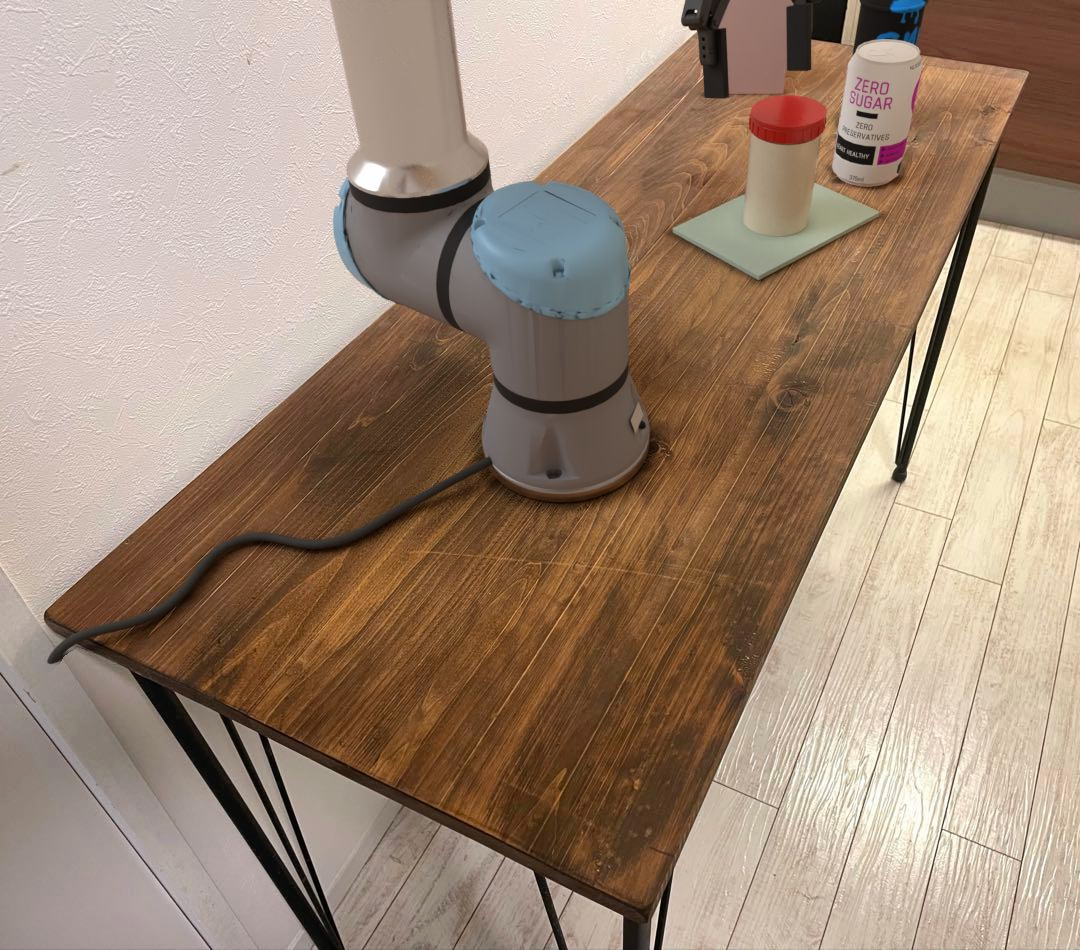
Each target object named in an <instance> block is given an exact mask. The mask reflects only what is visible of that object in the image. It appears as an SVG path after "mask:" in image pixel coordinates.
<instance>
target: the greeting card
mask: <svg viewBox="0 0 1080 950" xmlns="http://www.w3.org/2000/svg"><path fill="white" fill-rule="evenodd" d="M793 5H794V4H793V3H792V1H791V0H730V2H729V4H728V6H727V9H726V11H725V14H724V16H723V18H722V21H721V23H720V26H719V28H726V36H727V60H728V83H729V95H783V94H784V92H785V91H784V90H785V82H786V81H785V80H786V73H787V27H786V7H788V6H793ZM710 16H711V15H710Z"/></svg>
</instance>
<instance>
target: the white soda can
mask: <svg viewBox="0 0 1080 950" xmlns="http://www.w3.org/2000/svg"><path fill="white" fill-rule="evenodd" d="M848 61H849V62H848V63H847V69H846V74H845V75H846V76H845V81H844V89H843V93H842V99H841V100H842V101H841V107H840V113H839V119H838V126H837V130H836V131H837V132H836V137H835V143H834V150H833V158H832V162H831V168H832V172H833V173H834V174H836V177H837V178H838V179H840V180H841V181H842V182H844V183H846V184H848V185H852V186H857V187H864V188H865V187H866V188H871V187H879V186H883V185H885V184H888V183H890V182H891V181H892V180H894V179H895V178H896V177H898V176H899V175H900V172H901V170H902V165H903V161H904V157H905V152H906V147H907V142H908V137H909V134H910V129H911V125H912V124H911V123H912V120H913V115H914V111H915V105H916V101H917V97H918V92H919V87H920V83H921V77H922V73H923V68H924V64H923V61H922V57H921V49H920V48H919V47H918V45H917V46H915V45H914V44H911V43H908V42H905V41H900V40H892V39H881V40H872V41H869V42H865V43H863V44H861V45H859V46H858V48H857V49H856V52H855V54H854V55H853V57H852V56H851V58H850V59H849V60H848Z"/></svg>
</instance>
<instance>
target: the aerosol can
mask: <svg viewBox="0 0 1080 950" xmlns="http://www.w3.org/2000/svg"><path fill="white" fill-rule="evenodd" d="M859 3H860V5H859V12H858V19H857V23H856V31H855V37H854V41H853V49H852V55H851V58H852V57H853V55H854V54H855V52H856V49H857V48H858V46H859V45H861V44H863V43H865V42H869V41H872V40H881V39H892V40H900V41H905V42H908V43H911V44H914V45H915V46H917V47H918V42H919V37H920V32H921V28H922V22H923V18H924V14H925V10H926V9H925V8H926V6H927V4H928V3H929V0H859Z"/></svg>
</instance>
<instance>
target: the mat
mask: <svg viewBox="0 0 1080 950" xmlns="http://www.w3.org/2000/svg"><path fill="white" fill-rule="evenodd" d="M744 200H745V193H743V194H741V195H739V196H737V197H734V198H733V199H730V200H728V201H727V202H725V203H721V204H720V205H718V206H716V207H714V208H712V209H710V210H707V211H706V212H703V213H701V214H699V215H697V216H695V217H693V218H691V219H688V220H687V221H684V222H682V223H680V224H679V225H676V226H674V227H672V233H673V234H675V235H677V236H678V237H680V238H681V239H684V240H686V241H687V242H689V243H691V244H692V245H694V246H696V247H698V248H699V249H702V250H703V251H705V252H706V253H709V254H710V255H712V256H714V257H715V258H718V259H720V260H721V261H723V262H724V263H727V264H729V265H730V266H732V267H734V268H735V269H738V270H739V271H741V272H743V273H745V274H746V275H748V276H750V277H752V278H754V279H755V280H757V281H760V280H762V279H764V278H766V277H768V276H770V275H771V274H774V273H776V272H777V271H779V270H782V269H783V268H785V267H787V266H789V265H791V264H793V263H794V262H796V261H798V260H800V259H802V258H803V257H806V256H807V255H810V254H811V253H814V252H816V251H817V250H818V249H821V248H822V247H824V246H826V245H829V244H830V243H832V242H835V241H836V240H837V239H839V238H841V237H843V236H845V235H846V234H849V233H851V232H853V231H854V230H856V229H858V228H860V227H862V226H864V225H866V224H867V223H869V222H871V221H873V220H875V219H877V218H879V217H880V215H881V211H879V210H877V209H875V208H872V207H870V206H869V205H866V204H864V203H861V202H859V201H857V200H855V199H853V198H850V197H848V196H846V195H844V194H842V193H839V192H837V191H834V190H833V189H830V188H828V187H826V186H823V185H821V184H819V183H817V182H815V183H814V190H813V196H812V203H811V210H810V217H809V223H808V225H807V226H806V228H805V229H803V230H802V231H800V232H798V233H796V234H792V235H788V236H767V235H762V234H759V233H756V232H754V231H752V230H750V229H749V228H747V227H746V226H745V224H744V222H743V211H744Z"/></svg>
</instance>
